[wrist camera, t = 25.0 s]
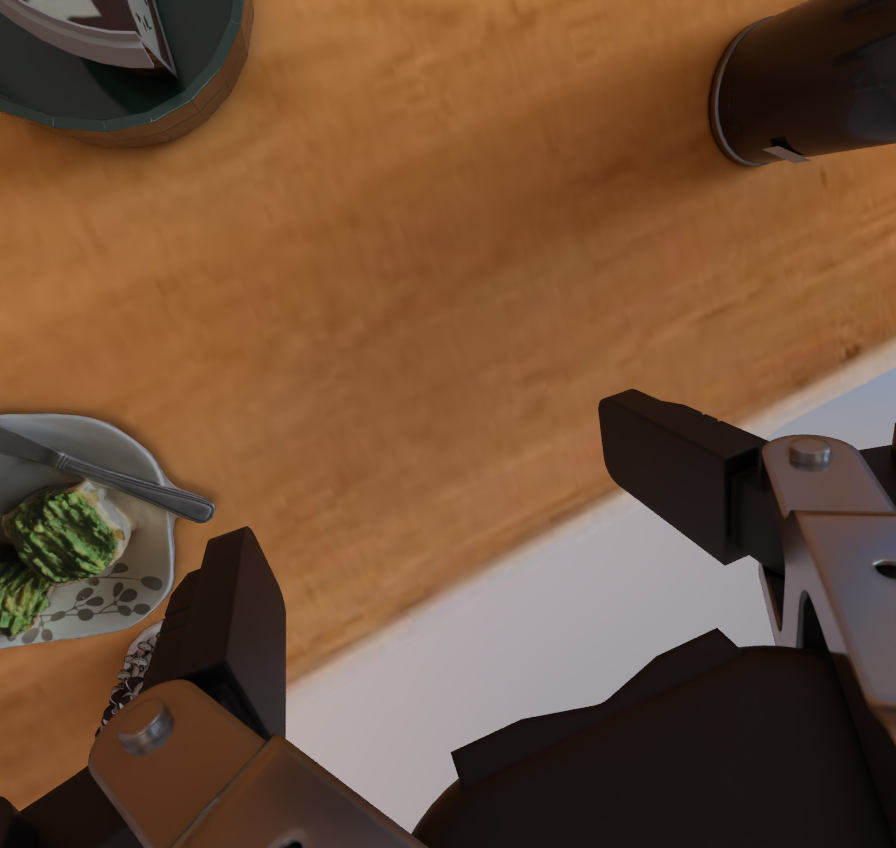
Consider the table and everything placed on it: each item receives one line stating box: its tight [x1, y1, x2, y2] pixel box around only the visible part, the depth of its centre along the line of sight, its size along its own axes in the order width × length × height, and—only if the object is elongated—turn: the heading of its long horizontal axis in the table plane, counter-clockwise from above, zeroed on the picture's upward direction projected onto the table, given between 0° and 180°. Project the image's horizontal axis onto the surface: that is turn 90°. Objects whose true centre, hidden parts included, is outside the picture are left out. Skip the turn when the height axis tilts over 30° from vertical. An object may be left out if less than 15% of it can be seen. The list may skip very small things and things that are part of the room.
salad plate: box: [0, 413, 216, 648], centre depth 31 cm, size 19×18×5 cm
